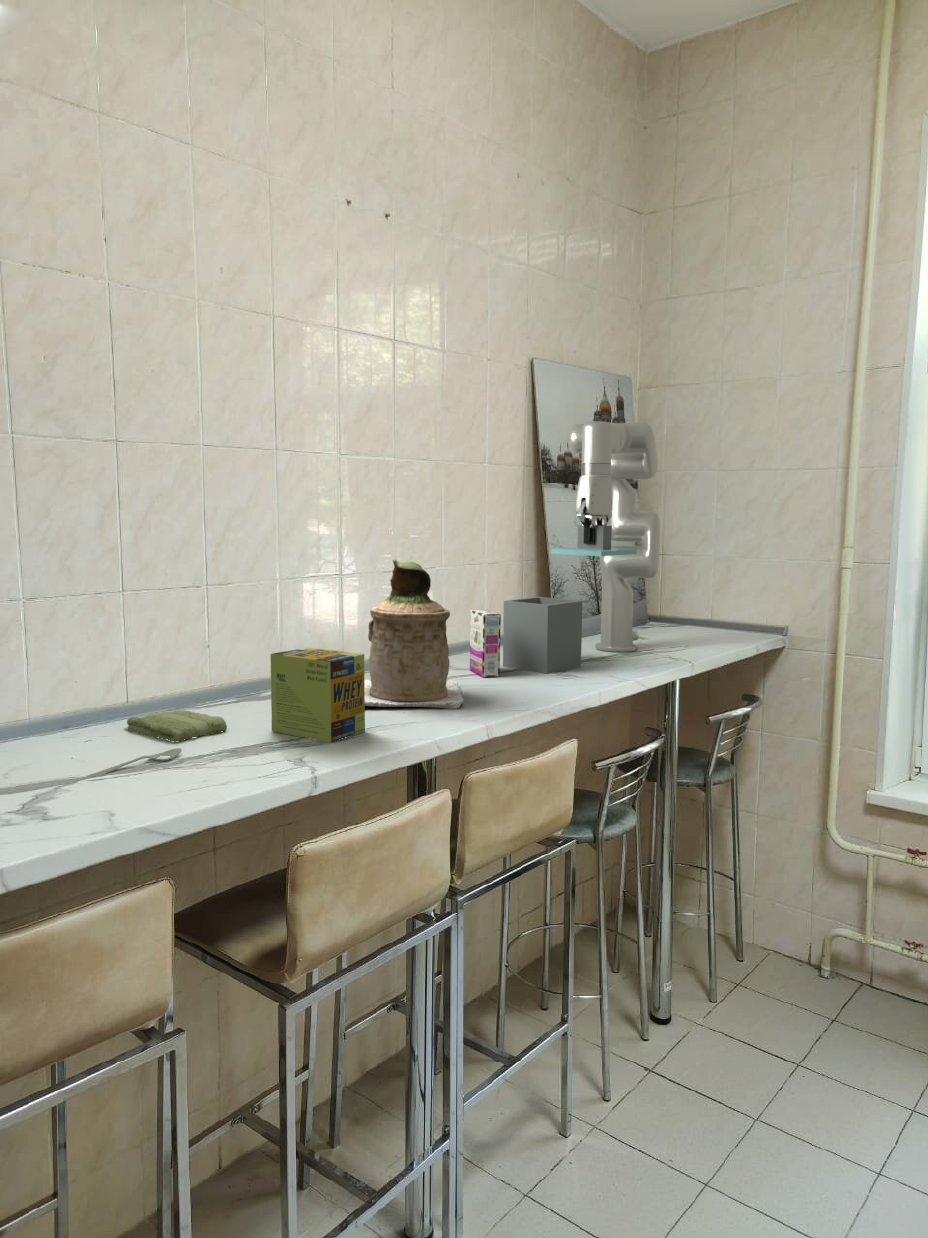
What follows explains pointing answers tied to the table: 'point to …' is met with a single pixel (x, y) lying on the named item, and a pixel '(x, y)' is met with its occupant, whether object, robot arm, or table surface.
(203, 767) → the table surface
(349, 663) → the protein box
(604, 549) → the lid
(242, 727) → the table surface
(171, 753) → the spoon
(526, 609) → the bin
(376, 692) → the cookie jar
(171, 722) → the washcloth
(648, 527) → the robot arm
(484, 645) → the candy bar box
